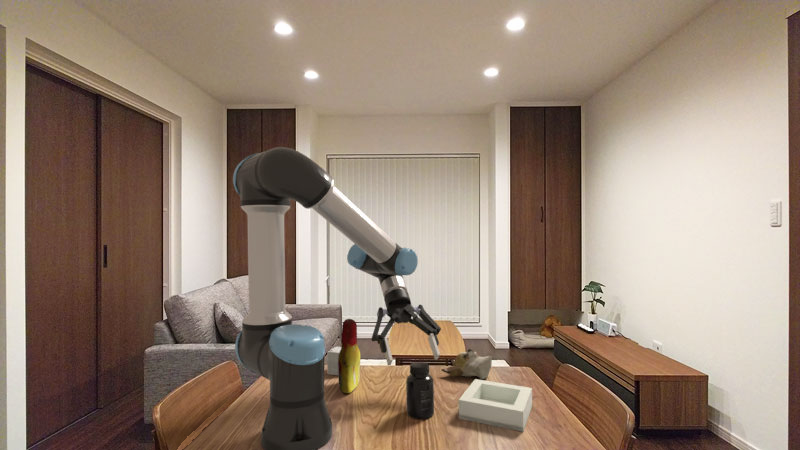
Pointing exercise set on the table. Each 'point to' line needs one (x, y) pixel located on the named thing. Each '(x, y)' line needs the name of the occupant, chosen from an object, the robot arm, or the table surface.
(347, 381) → the bottle
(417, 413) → the supplement bottle
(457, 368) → the ceramic sculpture
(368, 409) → the table surface
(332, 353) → the skincare box
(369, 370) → the table surface
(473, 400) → the holder
